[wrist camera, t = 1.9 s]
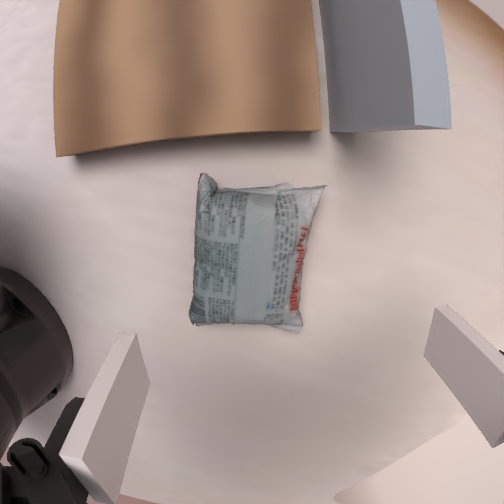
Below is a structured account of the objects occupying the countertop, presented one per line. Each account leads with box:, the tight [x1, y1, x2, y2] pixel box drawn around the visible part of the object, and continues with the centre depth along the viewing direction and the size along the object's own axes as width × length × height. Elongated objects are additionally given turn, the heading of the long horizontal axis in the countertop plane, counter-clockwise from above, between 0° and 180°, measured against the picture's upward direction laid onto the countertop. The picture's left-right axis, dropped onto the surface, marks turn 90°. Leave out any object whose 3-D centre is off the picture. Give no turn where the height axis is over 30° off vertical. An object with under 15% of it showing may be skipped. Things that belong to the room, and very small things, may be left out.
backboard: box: [319, 0, 452, 133], centre depth 14 cm, size 2×16×12 cm, turn 3°
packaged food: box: [189, 173, 327, 334], centre depth 23 cm, size 9×12×5 cm
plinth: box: [53, 0, 321, 157], centre depth 18 cm, size 18×16×3 cm
